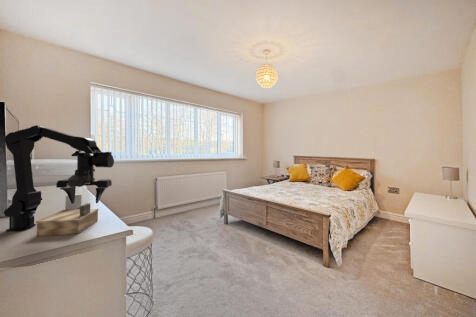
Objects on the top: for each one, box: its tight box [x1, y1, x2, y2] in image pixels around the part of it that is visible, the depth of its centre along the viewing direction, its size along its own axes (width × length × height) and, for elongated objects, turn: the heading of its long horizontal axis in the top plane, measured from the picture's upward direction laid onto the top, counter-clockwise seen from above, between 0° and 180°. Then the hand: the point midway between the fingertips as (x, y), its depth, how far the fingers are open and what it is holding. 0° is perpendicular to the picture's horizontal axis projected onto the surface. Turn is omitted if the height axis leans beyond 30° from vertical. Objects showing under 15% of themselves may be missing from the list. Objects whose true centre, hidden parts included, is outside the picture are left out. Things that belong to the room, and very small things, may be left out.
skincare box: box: [64, 192, 83, 210], centre depth 98 cm, size 6×4×12 cm
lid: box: [35, 203, 100, 224], centre depth 87 cm, size 14×16×5 cm
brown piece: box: [36, 210, 99, 237], centre depth 88 cm, size 14×16×5 cm
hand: (85, 203), depth 89 cm, fingers open, 9 cm apart
